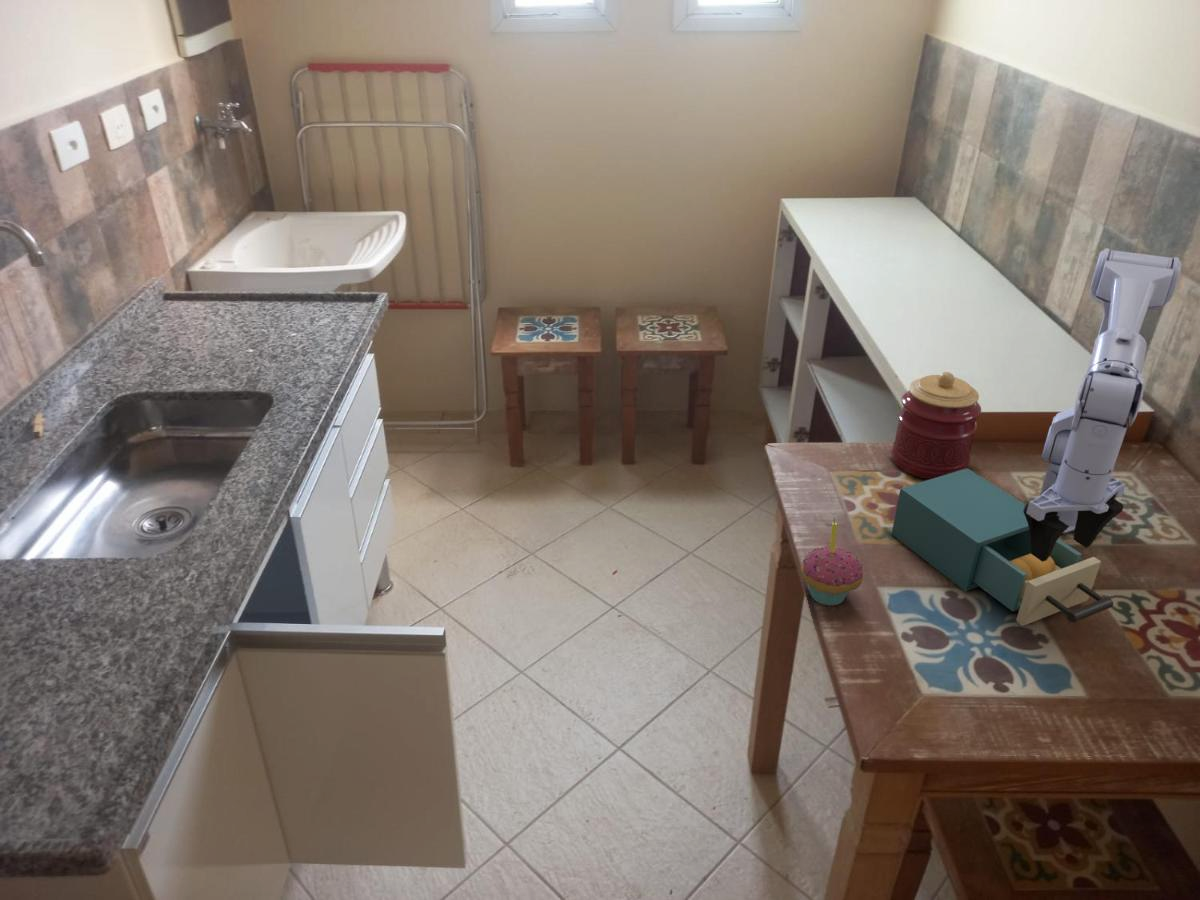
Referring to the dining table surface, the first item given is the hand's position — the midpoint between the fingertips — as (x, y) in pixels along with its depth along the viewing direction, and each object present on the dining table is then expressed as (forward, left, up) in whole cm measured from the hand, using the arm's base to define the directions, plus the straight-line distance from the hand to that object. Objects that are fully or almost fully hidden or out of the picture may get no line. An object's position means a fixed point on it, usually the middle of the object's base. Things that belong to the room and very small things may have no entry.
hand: (1060, 550), depth 117 cm
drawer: (0, -3, -9) cm, 10 cm away
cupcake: (+25, -15, -10) cm, 31 cm away
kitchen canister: (-14, -37, -10) cm, 41 cm away
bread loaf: (0, -3, -8) cm, 9 cm away
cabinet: (0, -15, -10) cm, 18 cm away
